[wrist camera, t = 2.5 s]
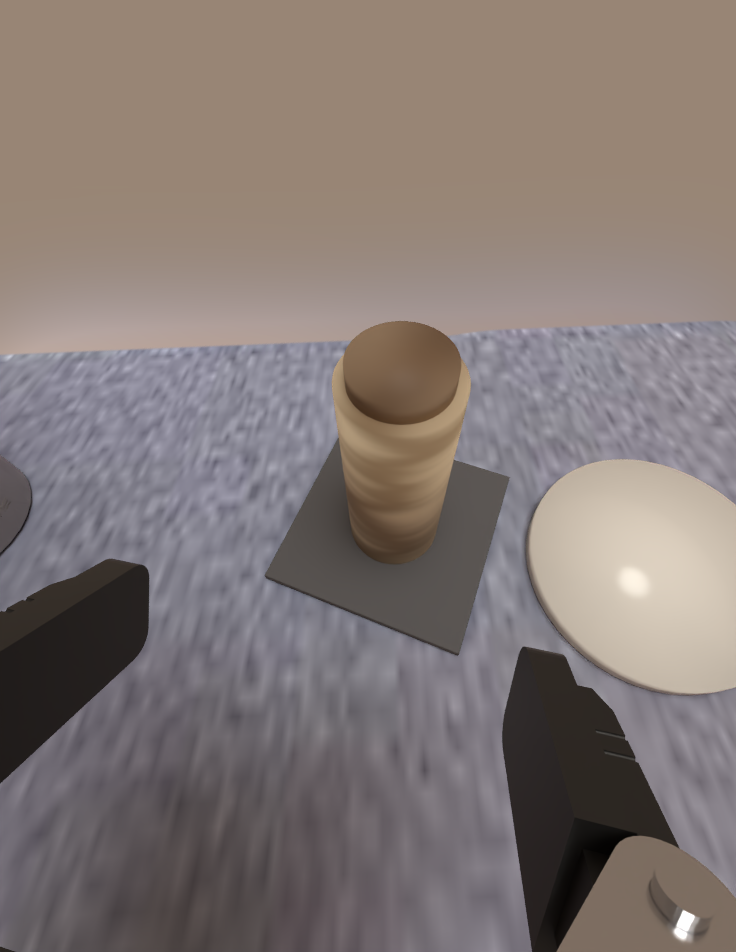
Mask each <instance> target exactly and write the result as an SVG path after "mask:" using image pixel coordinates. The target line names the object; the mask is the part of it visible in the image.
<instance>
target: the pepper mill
mask: <svg viewBox="0 0 736 952" xmlns="http://www.w3.org/2000/svg"><path fill="white" fill-rule="evenodd" d="M470 387H471V382H470V376H469V372H468V369H467V367H466V365H465V364H464V362H463V360H462V359H461V357H460V354H459V352H458V349H457V348H456V346H455V344H454V343H453V342H452V341H451V340H450V339H449V338H448V337H447V336H446V335H444V334H443V333H441V332H440V331H438V330H436V329H435V328H432V327H430V326H427V325H424V324H420V323H416V322H408V321H395V322H388V323H383V324H379V325H376V326H373V327H371V328H369V329H367V330H365V331H363V332H362V333H360V334H359V335H358V336H356V337H355V338H354V339H353V340H352V341H351V343H350V344H349V345H348V347H347V349H346V351H345V354H344V355H343V356H342V357H341V359H340V360H339V362H338V363H337V365H336V367H335V369H334V373H333V377H332V391H333V398H334V406H335V413H336V420H337V428H338V435H339V442H340V450H341V457H342V464H343V472H344V479H345V487H346V494H347V501H348V509H349V516H350V523H351V530H352V535H353V538H354V540H355V542H356V544H357V545H358V547H359V548H360V549H361V550H362V551H363V552H364V553H365V554H366V555H367V556H369V557H370V558H372V559H374V560H376V561H378V562H382V563H386V564H403V563H408V562H410V561H413V560H415V559H417V558H419V557H420V556H422V555H423V554H424V553H425V552H426V551H427V550H428V549H429V548H430V546H431V544H432V543H433V540H434V538H435V535H436V531H437V527H438V523H439V518H440V514H441V510H442V506H443V502H444V498H445V494H446V489H447V485H448V481H449V477H450V473H451V469H452V465H453V460H454V456H455V452H456V448H457V444H458V440H459V436H460V432H461V427H462V423H463V419H464V415H465V411H466V407H467V403H468V398H469V394H470Z"/></svg>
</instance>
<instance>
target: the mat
mask: <svg viewBox="0 0 736 952" xmlns="http://www.w3.org/2000/svg"><path fill="white" fill-rule="evenodd" d="M509 478H510V477H507V476H504V475H501V474H498V473H494V472H491V471H488V470H485V469H481V468H478V467H475V466H472V465H469V464H465V463H462V462H459V461H456V460H453V465H452V469H451V473H450V477H449V481H448V485H447V489H446V494H445V498H444V502H443V506H442V510H441V514H440V518H439V523H438V527H437V531H436V535H435V538H434V540H433V543H432V544H431V546H430V548H429V549H428V550H427V551H426V552H425V553H424V554H423V555H422V556H420V557H419V558H417V559H415V560H413V561H410V562H408V563H403V564H386V563H382V562H378V561H376V560H374V559H372V558H370V557H369V556H367V555H366V554H365V553H364V552H363V551H362V550H361V549H360V548H359V547H358V545H357V544H356V542H355V540H354V538H353V535H352V530H351V523H350V516H349V509H348V501H347V494H346V487H345V479H344V472H343V464H342V457H341V450H340V442H339V438H338V439H337V441H336V443H335V445H334V447H333V449H332V451H331V453H330V454H329V456H328V458H327V460H326V462H325V464H324V466H323V467H322V469H321V471H320V473H319V475H318V477H317V479H316V481H315V482H314V484H313V486H312V488H311V490H310V492H309V494H308V495H307V497H306V499H305V501H304V503H303V505H302V507H301V509H300V510H299V512H298V514H297V516H296V518H295V520H294V522H293V523H292V525H291V527H290V529H289V531H288V533H287V535H286V537H285V538H284V540H283V542H282V544H281V546H280V548H279V550H278V551H277V553H276V555H275V557H274V559H273V561H272V563H271V564H270V566H269V568H268V570H267V572H266V574H265V577H266V578H268V579H270V580H272V581H275V582H277V583H280V584H282V585H285V586H287V587H290V588H292V589H295V590H297V591H300V592H302V593H305V594H307V595H309V596H312V597H314V598H317V599H319V600H322V601H324V602H327V603H329V604H332V605H334V606H337V607H339V608H342V609H344V610H347V611H349V612H351V613H354V614H356V615H359V616H361V617H364V618H366V619H369V620H371V621H374V622H376V623H379V624H381V625H384V626H386V627H389V628H391V629H393V630H396V631H398V632H401V633H403V634H406V635H408V636H411V637H413V638H416V639H418V640H421V641H423V642H426V643H428V644H431V645H433V646H435V647H438V648H440V649H443V650H445V651H448V652H450V653H453V654H455V655H458V654H459V652H460V648H461V645H462V641H463V638H464V635H465V631H466V628H467V624H468V621H469V617H470V614H471V610H472V607H473V603H474V600H475V596H476V593H477V589H478V586H479V582H480V579H481V575H482V572H483V568H484V565H485V561H486V558H487V554H488V551H489V547H490V544H491V540H492V537H493V533H494V530H495V526H496V523H497V519H498V516H499V512H500V509H501V506H502V502H503V499H504V495H505V492H506V488H507V485H508V481H509Z"/></svg>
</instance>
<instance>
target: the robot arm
mask: <svg viewBox="0 0 736 952" xmlns="http://www.w3.org/2000/svg"><path fill="white" fill-rule="evenodd" d="M30 504H31V489H30V486H29V482H28V480H27V478H26V477H25V475H24V474H23V473H22V472H21V471H20V470H19V469H17V468H16V467H15V466H14V465H12V464H11V463H10V462H9V461H7V460H6V459H5V458H4V457H2V456H1V455H0V553H1V552H2V551H3V550H4V549H5V548H6V547H7V545H8V544H9V543H10V542H11V541H12V540H13V538H14V537H15V536H16V534H17V533H18V532H19V530H20V529H21V527H22V525H23V523H24V521H25V519H26V517H27V515H28V511H29V507H30ZM148 623H149V573H148V570H147V568H146V567H145V566H143V565H139V564H135V563H130V562H125V561H120V560H116V559H107V560H104V561H103V562H101V563H99V564H97V565H95V566H94V567H92V568H90V569H88V570H86V571H85V572H83V573H81V574H79V575H78V576H76V577H73V578H70V579H67V580H64V581H61V582H57V583H54V584H51V585H49V586H47V587H45V588H43V589H42V590H40V591H38V592H36V593H34V594H32V595H31V596H29V597H27V599H26V601H24V600H21V601H19V602H18V603H16V604H14V605H12V606H10V607H8V608H7V610H6V611H5V612H2V611H1V612H0V783H1V782H2V781H3V780H4V779H6V778H7V777H8V776H9V775H10V774H11V773H12V772H13V771H14V770H15V769H16V768H17V767H19V766H20V765H21V764H22V763H23V762H24V761H25V760H26V759H27V758H28V757H29V756H30V755H31V754H33V753H34V752H35V751H36V750H37V749H38V748H39V747H40V746H41V745H42V744H43V743H44V742H46V741H47V740H48V739H49V738H50V737H51V736H52V735H53V734H54V733H55V732H56V731H57V730H58V729H60V728H61V727H62V726H63V725H64V724H65V723H66V722H67V721H68V720H69V719H70V718H71V717H73V716H74V715H75V714H76V713H77V712H78V711H79V710H80V709H81V708H82V707H83V706H84V705H85V704H87V703H88V702H89V701H90V700H91V699H92V698H93V697H94V696H95V695H96V694H97V693H98V692H100V691H101V690H102V689H103V688H104V687H105V686H106V685H107V684H108V683H109V682H110V681H111V680H112V679H114V678H115V677H116V676H117V675H118V674H119V673H120V672H121V671H122V670H123V669H124V668H125V667H127V666H128V665H129V664H130V663H131V662H132V661H133V660H134V659H135V658H136V657H137V656H138V654H139V653H140V651H141V650H142V648H143V646H144V644H145V641H146V638H147V635H148ZM502 743H503V753H504V760H505V767H506V774H507V781H508V787H509V794H510V801H511V808H512V815H513V822H514V829H515V836H516V843H517V850H518V857H519V864H520V871H521V878H522V884H523V891H524V898H525V905H526V912H527V919H528V926H529V933H530V940H531V947H532V952H736V898H735V897H734V896H733V895H732V893H731V892H730V891H729V890H728V888H727V887H726V886H725V885H724V884H723V883H722V882H721V881H720V880H719V879H718V878H717V877H716V876H715V875H714V874H713V873H712V872H711V871H710V870H709V869H708V868H706V867H705V866H704V865H703V864H701V863H700V862H699V861H698V860H696V859H695V858H693V857H692V856H690V855H689V854H687V853H686V852H684V851H683V850H681V849H680V848H679V846H678V844H677V842H676V840H675V838H674V836H673V834H672V832H671V830H670V828H669V826H668V823H667V821H666V819H665V817H664V815H663V813H662V811H661V809H660V807H659V805H658V803H657V801H656V799H655V797H654V794H653V792H652V790H651V788H650V786H649V784H648V782H647V780H646V778H645V776H644V774H643V772H642V770H641V768H640V765H639V763H637V762H635V755H634V753H633V751H632V749H631V747H630V745H629V743H628V741H626V740H625V734H624V732H623V730H622V728H621V726H620V724H619V722H618V720H617V718H616V716H615V714H614V712H613V710H612V709H611V708H610V707H609V706H608V705H607V704H606V703H605V702H604V701H603V700H602V699H601V698H600V697H599V696H598V695H597V693H596V692H595V691H594V690H593V689H592V688H587V687H582V686H578V685H577V684H576V681H575V679H574V676H573V674H572V671H571V669H570V667H569V664H568V662H567V659H566V657H565V656H564V655H563V654H558V653H553V652H549V651H544V650H539V649H534V648H529V647H522V649H521V651H520V653H519V656H518V660H517V664H516V668H515V672H514V676H513V681H512V685H511V689H510V693H509V697H508V701H507V705H506V709H505V714H504V720H503V731H502ZM0 952H14V951H11V950H8V949H5V948H3V947H0Z"/></svg>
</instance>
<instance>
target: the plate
mask: <svg viewBox="0 0 736 952" xmlns="http://www.w3.org/2000/svg"><path fill="white" fill-rule="evenodd" d="M526 560H527V567H528V572H529V576H530V580H531V583H532V586H533V589H534V591H535V594H536V596H537V598H538V600H539V602H540V604H541V606H542V608H543V610H544V611H545V613H546V615H547V616H548V618H549V619H550V620H551V622H552V623H553V625H554V626H555V628H556V629H557V630H558V631H559V632H560V633H561V635H562V636H563V637H564V638H565V639H566V640H567V641H568V642H569V643H570V644H571V645H572V646H573V647H574V648H575V649H576V650H577V651H578V652H579V653H580V654H582V655H583V656H584V657H585V658H587V659H588V660H589V661H591V662H592V663H593V664H595V665H596V666H597V667H599V668H601V669H602V670H604V671H606V672H607V673H609V674H611V675H613V676H614V677H616V678H618V679H621V680H623V681H625V682H627V683H629V684H632V685H634V686H637V687H640V688H644V689H647V690H650V691H654V692H659V693H664V694H670V695H687V696H689V695H700V694H708V693H713V692H719V691H723V690H727V689H731V688H735V687H736V505H735V504H734V503H732V502H731V501H730V500H729V499H727V498H726V497H725V496H724V495H722V494H721V493H719V492H718V491H716V490H715V489H713V488H712V487H710V486H709V485H707V484H705V483H704V482H702V481H700V480H698V479H696V478H694V477H692V476H690V475H688V474H686V473H683V472H681V471H679V470H676V469H673V468H670V467H667V466H664V465H660V464H656V463H651V462H646V461H639V460H624V459H618V460H605V461H600V462H595V463H591V464H588V465H585V466H582V467H579V468H577V469H575V470H573V471H571V472H569V473H568V474H566V475H565V476H564V477H562V478H561V479H559V480H558V481H557V482H556V483H555V484H554V485H553V486H552V487H551V488H550V489H549V490H548V492H547V493H546V494H545V496H544V497H543V499H542V500H541V502H540V503H539V505H538V507H537V509H536V510H535V512H534V514H533V516H532V519H531V522H530V525H529V528H528V533H527V539H526Z"/></svg>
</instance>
